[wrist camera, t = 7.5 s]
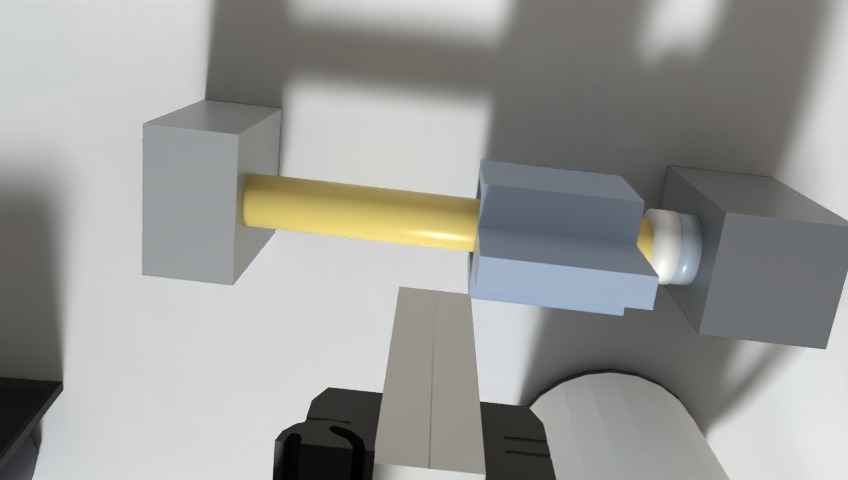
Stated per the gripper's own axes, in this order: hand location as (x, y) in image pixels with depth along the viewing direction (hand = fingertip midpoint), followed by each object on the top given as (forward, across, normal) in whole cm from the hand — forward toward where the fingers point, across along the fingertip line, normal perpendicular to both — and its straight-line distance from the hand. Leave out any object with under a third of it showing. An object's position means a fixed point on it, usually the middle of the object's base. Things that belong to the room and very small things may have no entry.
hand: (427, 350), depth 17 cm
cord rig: (+15, +2, 0) cm, 15 cm away
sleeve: (+12, +4, 0) cm, 13 cm away
